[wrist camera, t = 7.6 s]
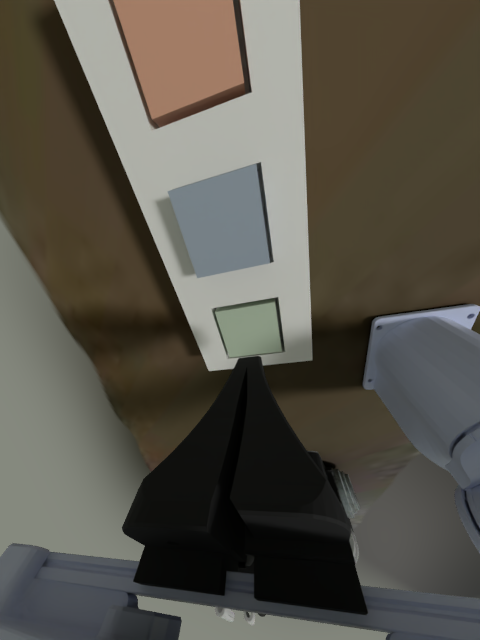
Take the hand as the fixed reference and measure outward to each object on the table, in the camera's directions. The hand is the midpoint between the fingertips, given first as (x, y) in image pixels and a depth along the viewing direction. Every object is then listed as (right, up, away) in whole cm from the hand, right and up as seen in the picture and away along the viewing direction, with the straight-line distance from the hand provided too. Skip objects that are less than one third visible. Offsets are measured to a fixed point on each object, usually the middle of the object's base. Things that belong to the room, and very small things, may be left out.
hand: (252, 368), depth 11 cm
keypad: (-1, +10, +3) cm, 11 cm away
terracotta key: (-3, +17, -2) cm, 17 cm away
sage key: (0, +3, +6) cm, 6 cm away
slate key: (-2, +9, +1) cm, 9 cm away
